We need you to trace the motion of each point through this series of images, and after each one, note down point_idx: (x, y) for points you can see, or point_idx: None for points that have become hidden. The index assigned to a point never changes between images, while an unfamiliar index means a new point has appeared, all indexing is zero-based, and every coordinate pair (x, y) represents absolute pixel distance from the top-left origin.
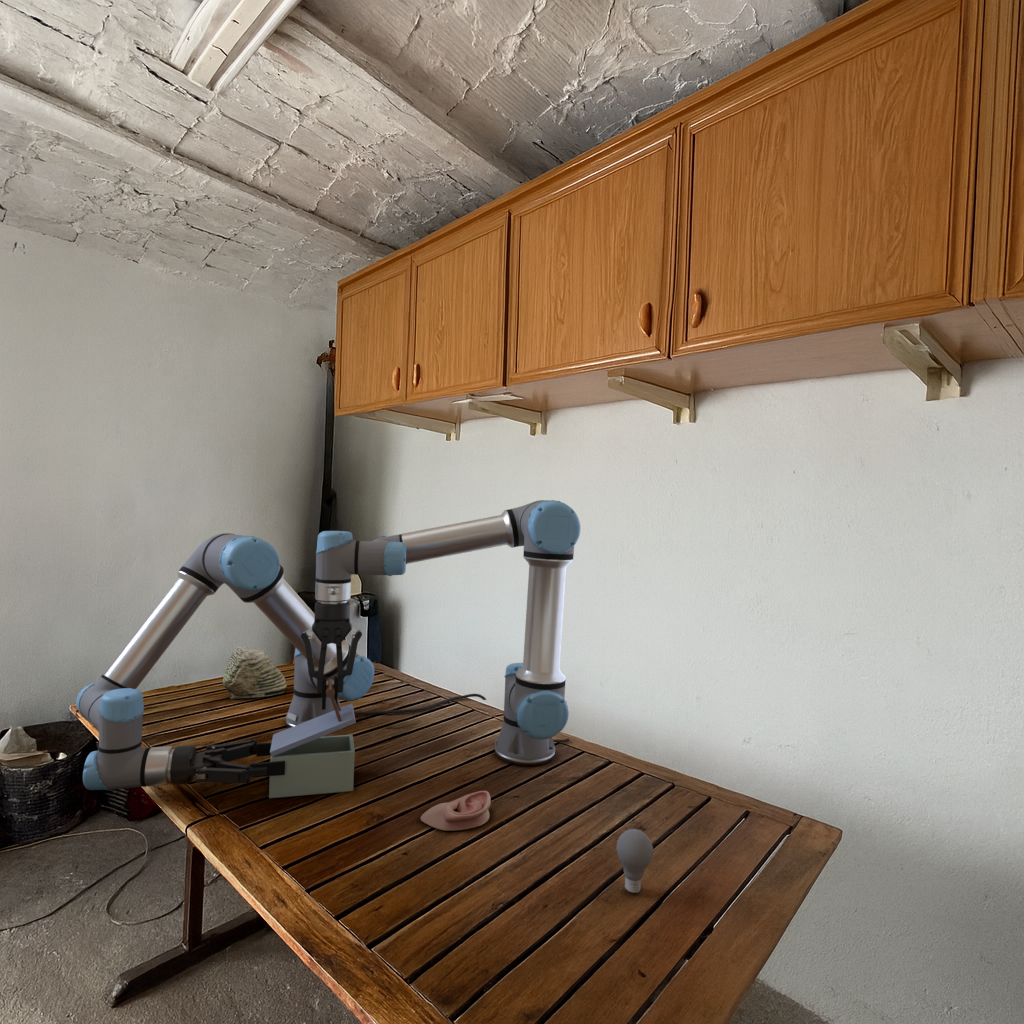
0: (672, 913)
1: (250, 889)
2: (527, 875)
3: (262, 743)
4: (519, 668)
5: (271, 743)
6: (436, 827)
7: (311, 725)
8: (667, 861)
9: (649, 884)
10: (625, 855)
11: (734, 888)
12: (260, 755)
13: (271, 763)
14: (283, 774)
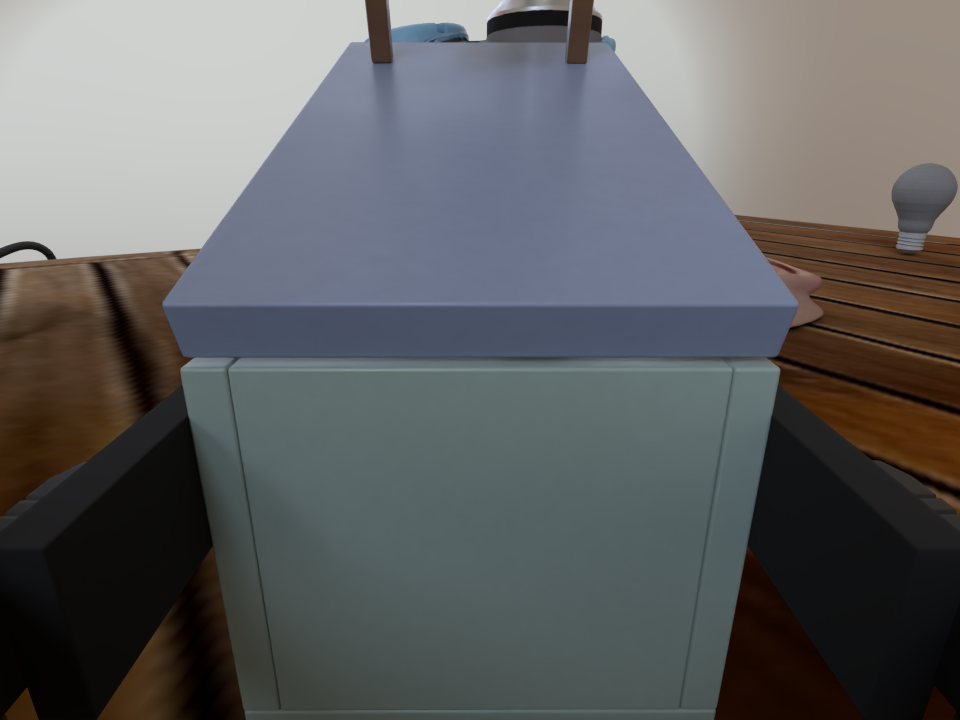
0: (939, 249)
1: None
2: (935, 284)
3: (76, 493)
4: (449, 25)
5: (173, 428)
6: (818, 316)
7: (441, 121)
8: (804, 240)
9: (876, 249)
10: (955, 191)
11: (845, 233)
12: (130, 656)
13: (804, 413)
14: None
